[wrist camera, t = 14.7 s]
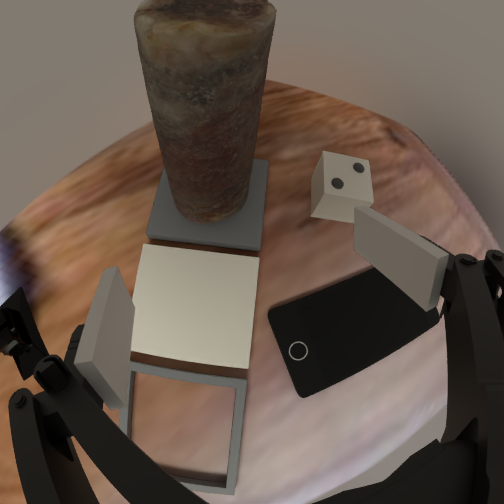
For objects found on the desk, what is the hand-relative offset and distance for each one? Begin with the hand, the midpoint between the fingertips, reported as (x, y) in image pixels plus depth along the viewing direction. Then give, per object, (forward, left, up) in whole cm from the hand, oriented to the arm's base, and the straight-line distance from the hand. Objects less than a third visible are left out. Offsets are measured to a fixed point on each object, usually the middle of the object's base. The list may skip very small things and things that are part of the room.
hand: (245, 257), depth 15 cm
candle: (-4, +10, -11) cm, 15 cm away
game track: (-4, -2, -12) cm, 13 cm away
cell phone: (+13, -1, -13) cm, 18 cm away
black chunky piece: (-24, -8, -13) cm, 28 cm away
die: (+9, +12, -12) cm, 19 cm away
